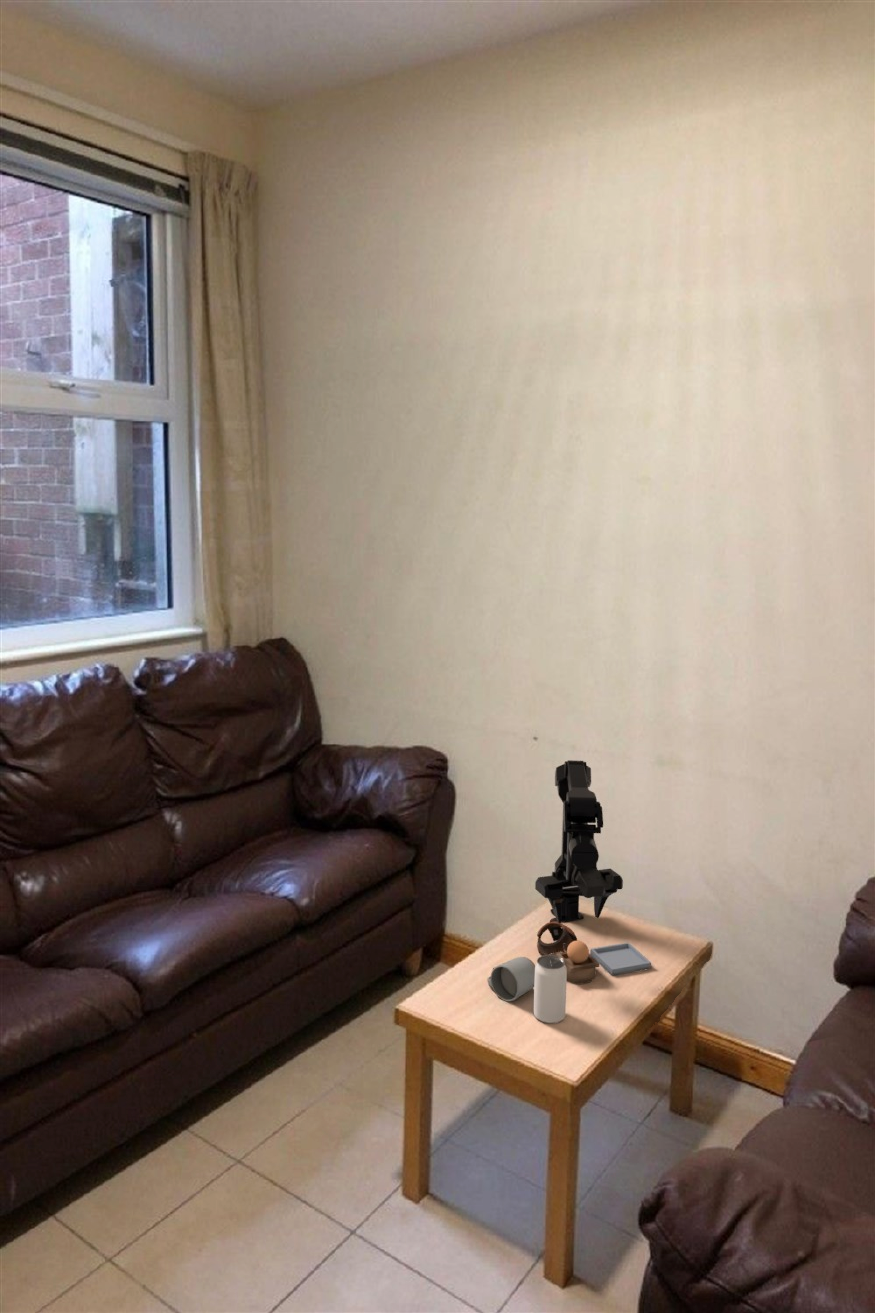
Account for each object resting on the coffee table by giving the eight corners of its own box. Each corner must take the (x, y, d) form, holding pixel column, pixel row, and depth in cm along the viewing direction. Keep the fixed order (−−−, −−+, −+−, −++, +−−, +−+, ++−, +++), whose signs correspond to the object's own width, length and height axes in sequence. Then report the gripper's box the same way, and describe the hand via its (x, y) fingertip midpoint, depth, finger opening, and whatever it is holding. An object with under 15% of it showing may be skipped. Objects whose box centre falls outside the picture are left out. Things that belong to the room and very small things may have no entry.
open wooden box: (552, 968, 210) (553, 953, 209) (584, 963, 213) (585, 947, 212) (569, 986, 203) (569, 970, 202) (601, 980, 205) (602, 964, 204)
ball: (562, 958, 208) (563, 938, 208) (582, 955, 210) (582, 935, 209) (572, 968, 204) (573, 948, 203) (592, 965, 206) (593, 945, 205)
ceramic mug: (540, 992, 200) (541, 958, 199) (517, 1007, 194) (518, 973, 193) (501, 975, 207) (502, 943, 206) (478, 990, 201) (478, 956, 200)
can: (570, 1012, 192) (572, 959, 190) (557, 1028, 187) (559, 972, 185) (541, 1003, 196) (542, 950, 194) (528, 1018, 190) (529, 964, 188)
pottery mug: (587, 962, 214) (574, 938, 210) (549, 978, 215) (536, 954, 211) (574, 926, 225) (562, 903, 221) (539, 942, 226) (525, 919, 222)
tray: (590, 954, 216) (590, 948, 216) (628, 948, 219) (628, 942, 219) (611, 975, 207) (611, 969, 207) (651, 968, 210) (651, 962, 210)
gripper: (557, 870, 192) (555, 941, 195) (637, 860, 198) (634, 930, 200) (535, 851, 203) (533, 919, 205) (611, 843, 209) (609, 909, 211)
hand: (578, 920), depth 205 cm, fingers open, 9 cm apart
